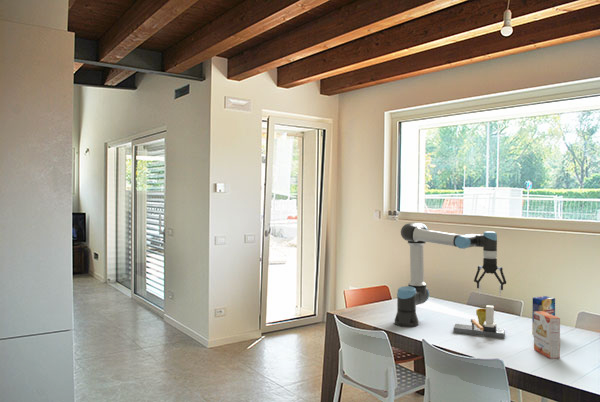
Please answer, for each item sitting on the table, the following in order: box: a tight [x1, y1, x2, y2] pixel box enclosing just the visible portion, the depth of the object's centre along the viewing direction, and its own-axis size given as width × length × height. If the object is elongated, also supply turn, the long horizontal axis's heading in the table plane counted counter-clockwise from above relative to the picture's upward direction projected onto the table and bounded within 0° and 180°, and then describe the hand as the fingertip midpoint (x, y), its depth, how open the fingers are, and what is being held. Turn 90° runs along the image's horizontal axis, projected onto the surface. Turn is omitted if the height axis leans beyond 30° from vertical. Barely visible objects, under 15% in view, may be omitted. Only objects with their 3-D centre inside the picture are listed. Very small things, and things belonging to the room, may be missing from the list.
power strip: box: [453, 323, 506, 340], centre depth 281 cm, size 28×10×6 cm, turn 64°
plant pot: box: [476, 308, 486, 327], centre depth 298 cm, size 10×10×10 cm
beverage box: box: [531, 295, 556, 336], centre depth 279 cm, size 7×11×22 cm, turn 116°
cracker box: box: [533, 311, 561, 359], centre depth 244 cm, size 14×6×21 cm, turn 5°
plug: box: [484, 304, 496, 328], centre depth 277 cm, size 6×8×14 cm
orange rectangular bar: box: [470, 318, 483, 330], centre depth 271 cm, size 18×3×6 cm, turn 176°
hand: (489, 294), depth 278 cm, fingers open, 10 cm apart
